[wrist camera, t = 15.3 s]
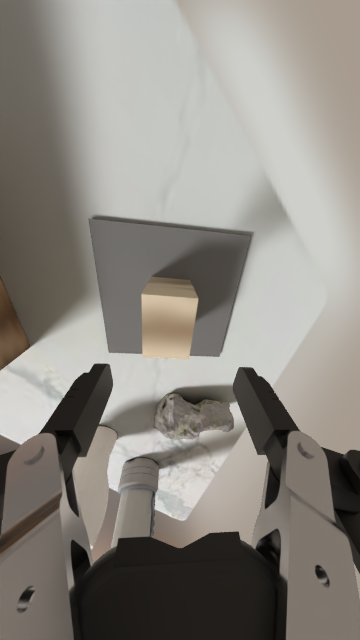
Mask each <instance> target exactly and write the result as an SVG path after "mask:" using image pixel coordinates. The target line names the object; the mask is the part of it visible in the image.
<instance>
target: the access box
mask: <svg viewBox="0 0 360 640" xmlns="http://www.w3.org/2000/svg"><path fill="white" fill-rule="evenodd" d="M29 348H30V345H29V342H28V340H27V338H26V336H25V333H24V331H23V329H22V326H21V324H20V322H19V319H18V317H17V315H16V312H15V310H14V308H13V305H12V303H11V301H10V299H9V296H8V294H7V292H6V289H5V287H4V285H3V282H2V280H1V278H0V370H1V369H3V368H4V367H5V366H7V365H8V364H9V363H10V362H12V361H13V360H14V359H16V358H17V357H18V356H20V355H21V354H22V353H23V352H25V351H26V350H27V349H29Z"/></svg>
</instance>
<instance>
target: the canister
mask: <svg viewBox="0 0 360 640" xmlns="http://www.w3.org/2000/svg"><path fill="white" fill-rule="evenodd" d="M158 477H159V465H158V464H157V463H155V462H154V461H153V460H152V459H148V458H136V459H134V460H130V461H127V462H126V463H125V464H124V465H123V469H122V474H121V478H120V483H119V487H118V492H119V495H120V497H121V499H120V504H119V509H118V514H117V519H116V525H115V529H114V535H113V540H112V545H111V549H112V548H114V547H116V546H117V542H118V538H130V537H148V536H149V537H152V538H153V534H154V532H153V527H154V516H155V511H154V507H155V493H156V492H157V490H158Z"/></svg>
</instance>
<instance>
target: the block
mask: <svg viewBox="0 0 360 640" xmlns="http://www.w3.org/2000/svg"><path fill="white" fill-rule="evenodd" d="M141 298H142V356H143V357H150V358H174V359H189V355H190V349H191V343H192V337H193V330H194V324H195V318H196V311H197V305H198V299H199V298H198V296H197V294H196V292H195V290H194V287H193V285H192V283H191V281H190V280H184V279H172V278H161V277H150V279H149V281H148V283H147V285H146V287H145V288H144V290H143V292H142V294H141Z"/></svg>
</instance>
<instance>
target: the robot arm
mask: <svg viewBox="0 0 360 640" xmlns="http://www.w3.org/2000/svg"><path fill="white" fill-rule="evenodd" d="M112 387H113V379H112V374H111V369H110V365H109V364H94V365H93V367H92V368H91V370H90V372H89V373H83V374H82V375H81V376H80V377H78V378H77V379H76V380H75V381H74V383H73V384H72V386H71V387H70V390H69V391H68V392H67V393H66V395H65V397H64V398H63V399H62V401H61V402H60V404H59V405H58V407H57V408H56V410H55V411H54V413H53V414H52V416H51V417H50V419H49V420H48V422H47V423H46V425H45V426H44V428H43V429H42V430H41V432H40V433H39V434H38V435H36V436H34V437H32V438H30V439H28V440H27V441H26V442H24V443H23V444H22V445H21V446H20V447H19V448H18V449H17V450H14V451H11V452H9V453H6V454H2V455H0V523H1V521H2V531H1V538H0V640H360V599H359V593H358V588H357V582H356V576H355V570H354V564H355V565H356V568H357V569H358V571H359V573H360V451H357V450H350V451H348V452H347V453H346V454H345V455H343V454H340V453H337V452H334V451H331V450H329V449H326V448H323V447H320V446H319V444H318V443H317V442H316V441H315V440H314V439H312V438H311V437H310V436H308V435H307V434H304V433H303V432H301V431H300V430H299V429H298V427H297V426H296V424H295V423H294V421H293V420H292V418H291V417H290V415H289V413H288V412H287V410H286V409H285V407H284V406H283V404H282V403H281V401H280V400H279V398H278V397H277V395H276V393H274V391H273V389H272V387H271V386H270V384H269V383H268V382H267V381H266V380H265V379H264V378H263V377H261V376H258V375H257V373H256V372H255V370H254V369H253V368H252V367H239V369H238V371H237V374H236V377H235V380H234V383H233V391H234V395H235V397H236V400H237V402H238V405H239V407H240V410H241V413H242V415H243V418H244V420H245V423H246V426H247V428H248V431H249V433H250V436H251V438H252V441H253V444H254V446H255V449H256V451H257V454H258V455H266V456H267V458H268V463H267V468H266V476H265V482H264V489H263V495H262V502H261V508H260V512H259V515H258V517H257V520H256V523H255V526H254V531H253V537H252V543H251V545H249V544H247V543H246V542H244V541H242V540H240V536H239V532H223V533H222V532H221V533H209V534H208V535H206V536H204V537H202V538H200V539H198V540H197V541H195V542H193V543H191V544H189V545H187V546H185V547H184V548H176V547H173V546H171V545H168V544H166V543H164V542H161V541H159V540H156V539H154V538H152V537H149V536H148V537H130V538H118V542H117V546H116V547H114V548H112V549H110V550H109V551H107V552H106V553H105V554H103V555H102V556H101V557H100V558H99V559H98V560H97V561H95V562H94V563H93V559H92V553H91V548H90V543H89V538H88V534H87V530H86V527H85V524H84V521H83V518H82V513H81V508H80V502H79V497H78V491H77V486H76V480H75V475H74V469H73V467H74V465H75V462H76V460H77V458H78V457H86V456H87V453H88V451H89V448H90V445H91V443H92V440H93V438H94V435H95V433H96V430H97V428H98V425H99V422H100V420H101V417H102V415H103V412H104V410H105V407H106V404H107V402H108V399H109V397H110V394H111V391H112ZM353 562H354V564H353ZM29 602H31V604H30V606H29V607H28V603H29Z"/></svg>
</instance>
